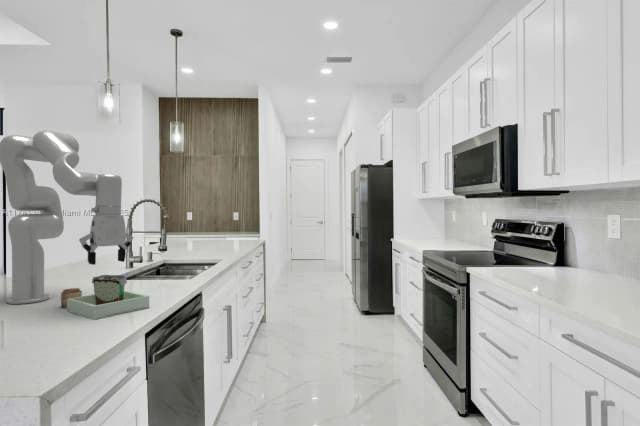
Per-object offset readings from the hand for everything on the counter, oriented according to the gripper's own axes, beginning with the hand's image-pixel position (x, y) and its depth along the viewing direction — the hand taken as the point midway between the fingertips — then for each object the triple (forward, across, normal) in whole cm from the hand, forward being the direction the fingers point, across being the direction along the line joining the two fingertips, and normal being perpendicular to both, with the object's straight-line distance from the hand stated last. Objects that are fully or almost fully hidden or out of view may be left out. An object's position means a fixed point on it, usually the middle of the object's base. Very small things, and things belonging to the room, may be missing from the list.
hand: (107, 262), depth 133 cm
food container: (+15, +2, 0) cm, 15 cm away
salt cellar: (+16, -5, +14) cm, 22 cm away
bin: (+16, 0, -1) cm, 16 cm away
